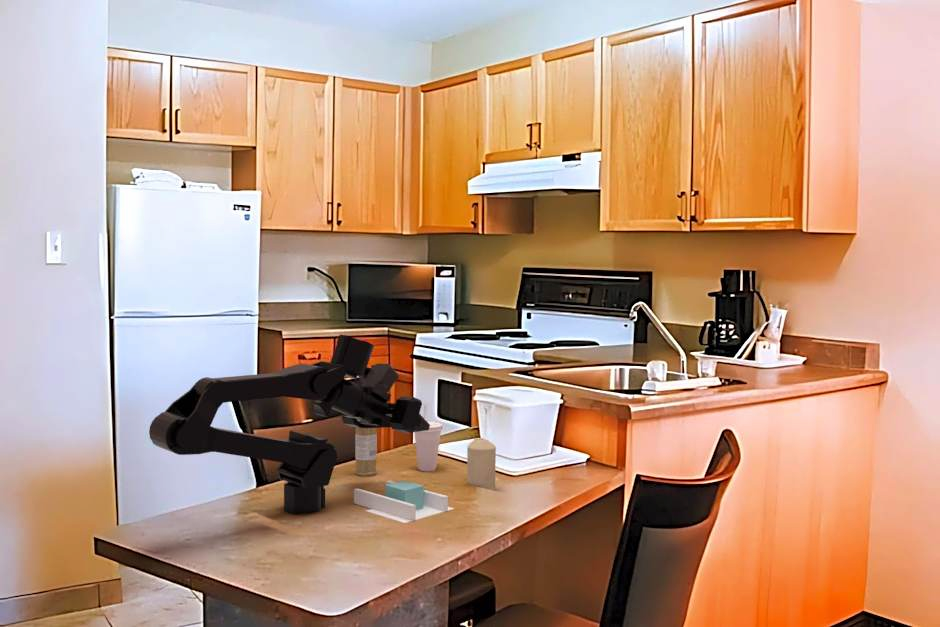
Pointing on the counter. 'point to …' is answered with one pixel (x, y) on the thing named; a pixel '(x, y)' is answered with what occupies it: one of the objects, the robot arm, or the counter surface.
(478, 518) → the counter surface
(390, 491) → the block
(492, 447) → the tan upright block
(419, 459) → the smoothie
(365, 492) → the trough
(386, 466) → the counter surface
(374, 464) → the sprinkles bottle
